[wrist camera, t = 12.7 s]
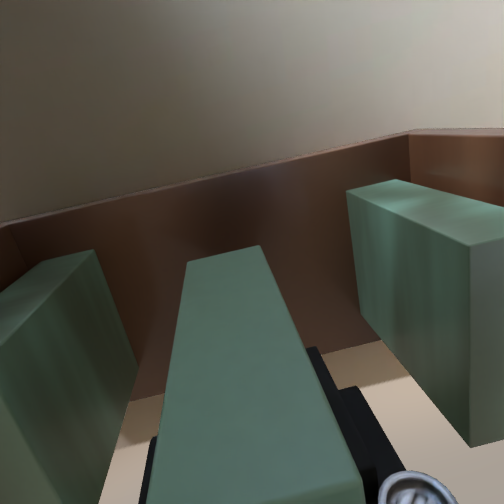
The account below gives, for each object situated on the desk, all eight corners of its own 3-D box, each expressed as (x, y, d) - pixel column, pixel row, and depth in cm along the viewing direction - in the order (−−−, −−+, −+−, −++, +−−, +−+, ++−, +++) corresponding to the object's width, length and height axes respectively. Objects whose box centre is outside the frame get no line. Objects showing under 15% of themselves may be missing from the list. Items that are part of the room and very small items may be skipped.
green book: (260, 243, 13) (364, 480, 4) (293, 402, 15) (404, 762, 6) (186, 261, 12) (136, 541, 4) (231, 417, 15) (261, 804, 6)
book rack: (418, 128, 18) (699, 125, 8) (427, 315, 22) (627, 487, 11) (-4, 223, 18) (-324, 363, 7) (78, 401, 21) (-52, 668, 11)
